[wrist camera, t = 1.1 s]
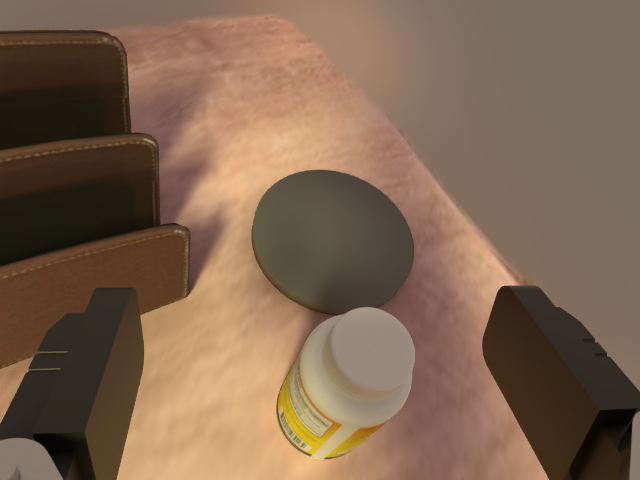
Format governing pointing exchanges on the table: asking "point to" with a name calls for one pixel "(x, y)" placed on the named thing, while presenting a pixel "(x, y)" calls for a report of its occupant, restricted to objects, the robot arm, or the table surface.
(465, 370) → the table surface
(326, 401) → the supplement bottle
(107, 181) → the letter holder
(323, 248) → the coaster
